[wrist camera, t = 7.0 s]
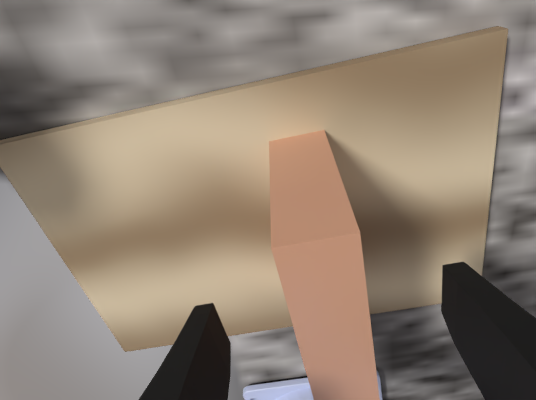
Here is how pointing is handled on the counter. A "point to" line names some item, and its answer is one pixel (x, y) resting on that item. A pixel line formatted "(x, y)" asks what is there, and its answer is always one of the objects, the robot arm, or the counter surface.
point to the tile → (321, 268)
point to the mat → (258, 186)
